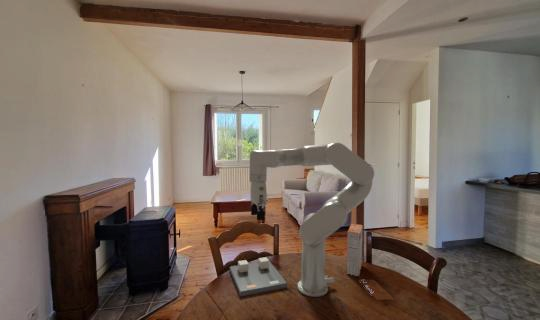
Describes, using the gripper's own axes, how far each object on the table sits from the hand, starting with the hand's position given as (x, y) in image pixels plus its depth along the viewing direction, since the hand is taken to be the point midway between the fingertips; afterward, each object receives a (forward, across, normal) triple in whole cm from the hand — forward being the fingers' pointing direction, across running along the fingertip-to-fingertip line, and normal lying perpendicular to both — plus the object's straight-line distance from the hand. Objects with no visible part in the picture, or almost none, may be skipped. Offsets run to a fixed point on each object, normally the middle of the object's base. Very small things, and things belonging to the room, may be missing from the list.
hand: (257, 217), depth 109 cm
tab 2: (+26, +5, -5) cm, 27 cm away
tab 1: (+25, +5, +5) cm, 26 cm away
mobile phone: (+29, -24, -45) cm, 58 cm away
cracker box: (+28, -7, -48) cm, 56 cm away
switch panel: (+28, 0, 0) cm, 28 cm away
